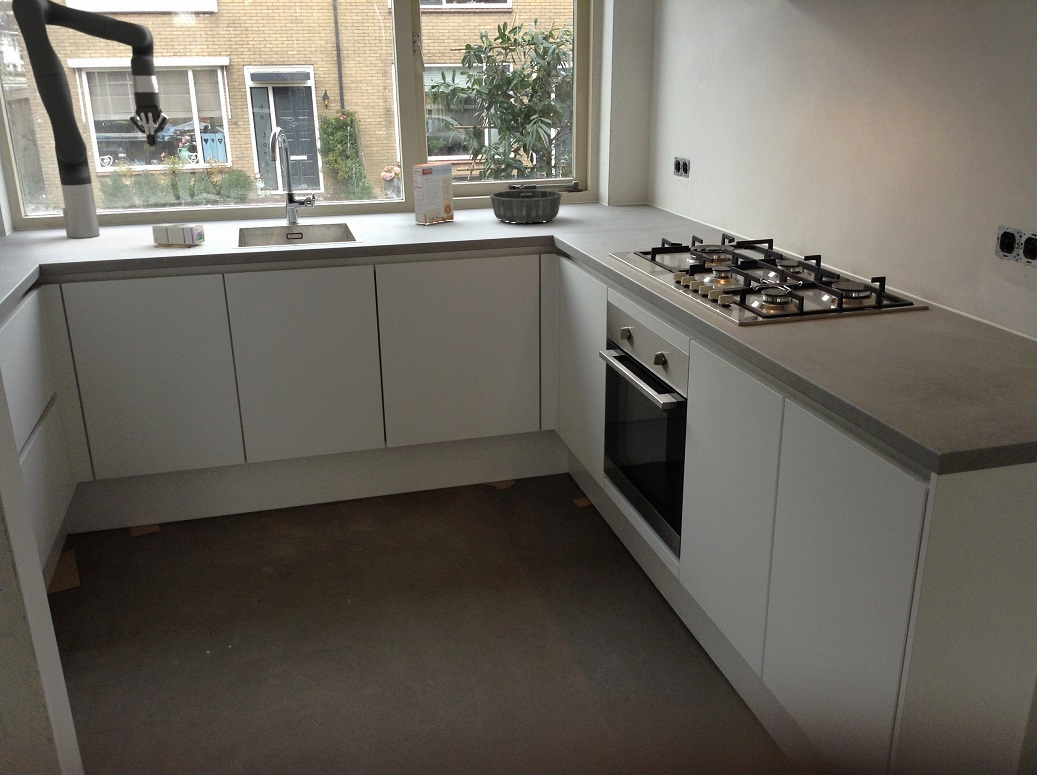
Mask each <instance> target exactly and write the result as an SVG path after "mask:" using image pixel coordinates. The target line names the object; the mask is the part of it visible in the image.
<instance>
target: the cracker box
mask: <svg viewBox="0 0 1037 775" xmlns="http://www.w3.org/2000/svg"><path fill="white" fill-rule="evenodd" d="M452 168H453V164H452V162H451V163H450V162H435V163H423V164H415V165H412V180H413V194H414V195H413V196H414V213H415V214H414V216H415V217H414V218H415V223H416V222H418V223H425V224H426V223H433V222H439V221H446V220H453V219H454V220H455V218H454V216H455V214H454V212H455V211H454V189H453V169H452Z"/></svg>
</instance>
